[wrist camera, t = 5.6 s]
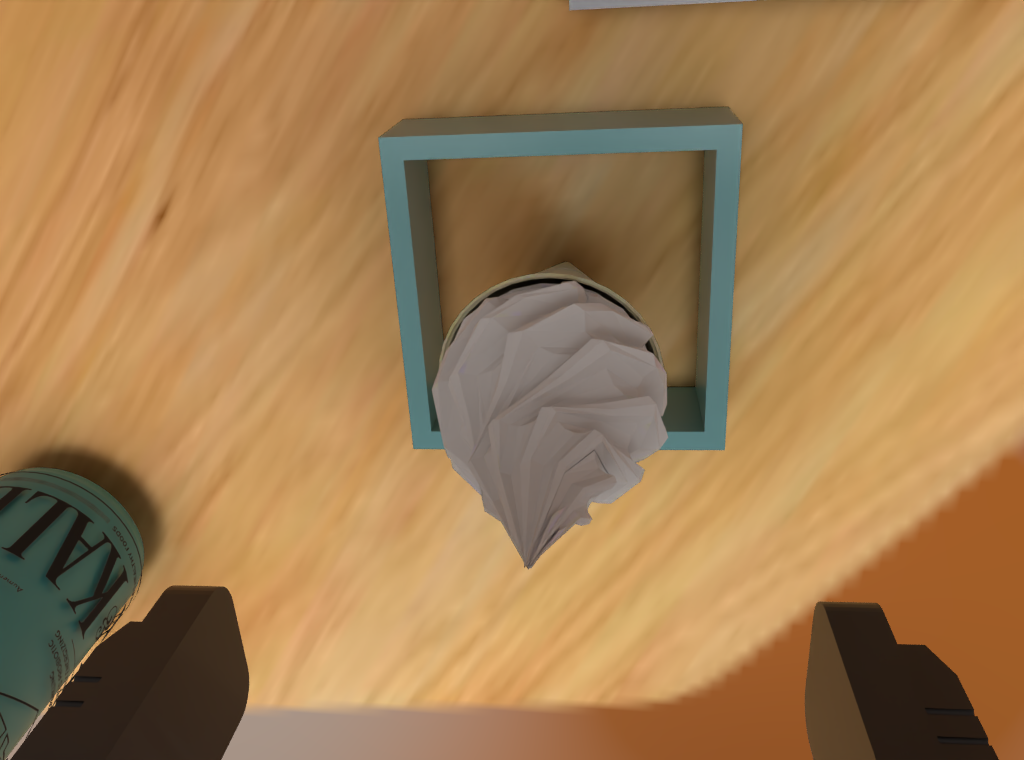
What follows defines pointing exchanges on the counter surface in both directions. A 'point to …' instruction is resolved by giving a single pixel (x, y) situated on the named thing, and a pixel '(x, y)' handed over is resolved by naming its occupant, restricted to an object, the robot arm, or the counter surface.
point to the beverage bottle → (56, 585)
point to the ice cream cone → (549, 401)
